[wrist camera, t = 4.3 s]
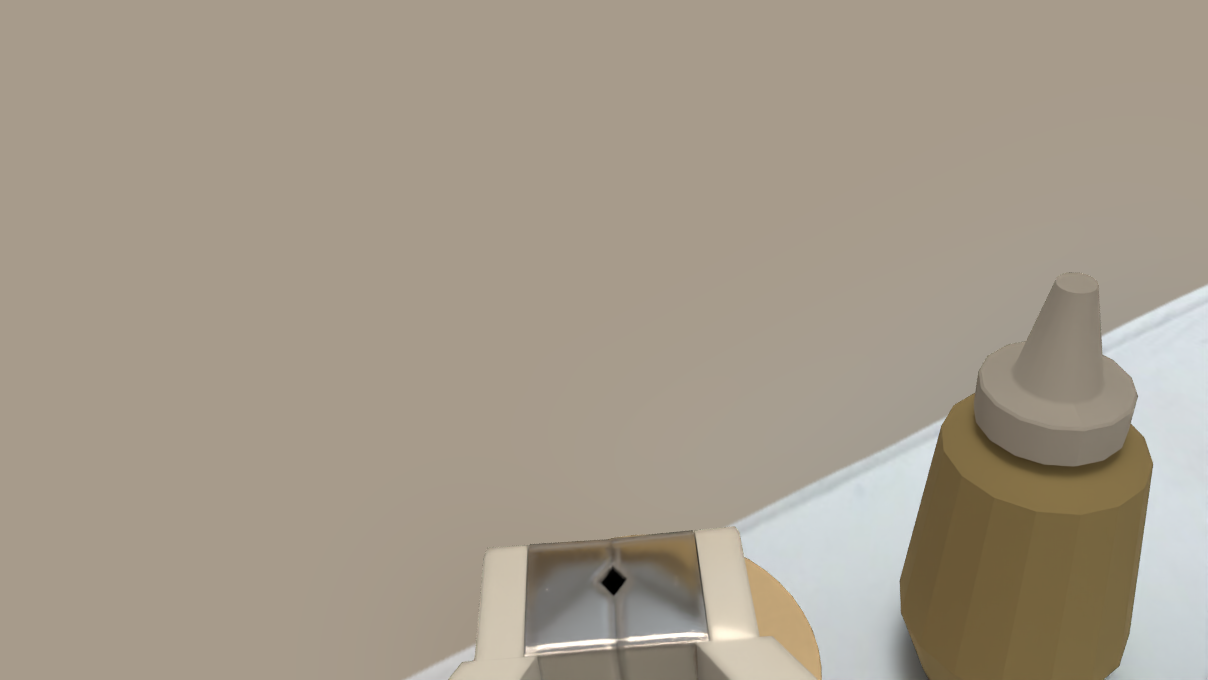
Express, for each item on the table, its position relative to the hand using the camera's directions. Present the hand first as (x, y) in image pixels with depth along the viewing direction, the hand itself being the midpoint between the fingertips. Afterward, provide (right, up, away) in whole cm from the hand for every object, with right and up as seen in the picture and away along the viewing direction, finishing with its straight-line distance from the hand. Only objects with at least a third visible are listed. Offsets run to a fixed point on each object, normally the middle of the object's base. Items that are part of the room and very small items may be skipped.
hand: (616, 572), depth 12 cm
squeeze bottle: (+15, -10, +28) cm, 34 cm away
